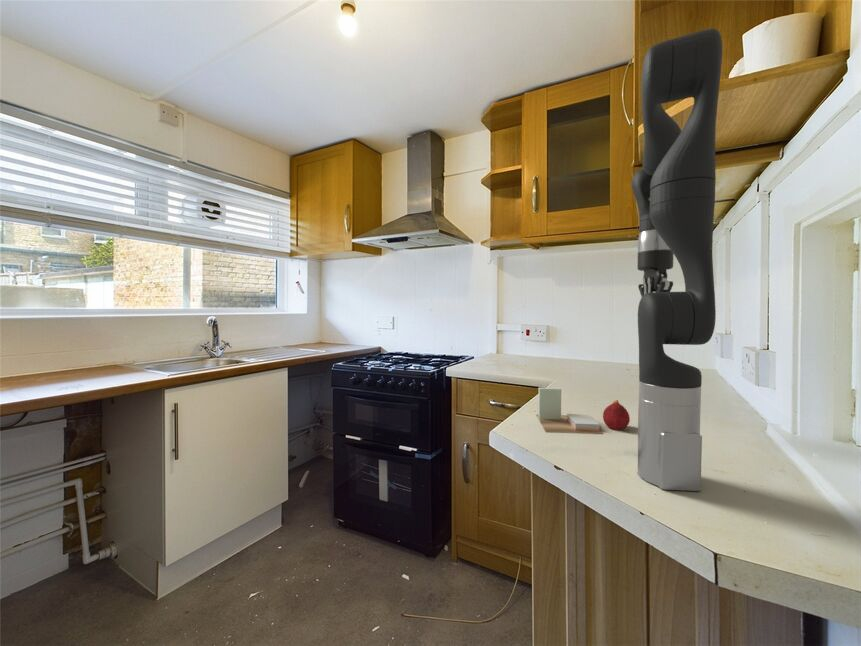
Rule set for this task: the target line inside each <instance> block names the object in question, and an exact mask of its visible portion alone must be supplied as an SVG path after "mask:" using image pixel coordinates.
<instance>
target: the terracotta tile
mask: <svg viewBox="0 0 861 646" xmlns="http://www.w3.org/2000/svg"><path fill="white" fill-rule="evenodd" d="M566 415H567V420H568V422H569V423H570V424H571V425H572V426H573V428H574V429H575V430H585V431H601V429H600V428H601V427H600V425H601V424H600V423H599V422H598V421H597V420H596V419H594V417H593V416H592V415H591V414H589V413H588V414H587V413H586V414H585V413H567V414H566Z"/></svg>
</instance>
